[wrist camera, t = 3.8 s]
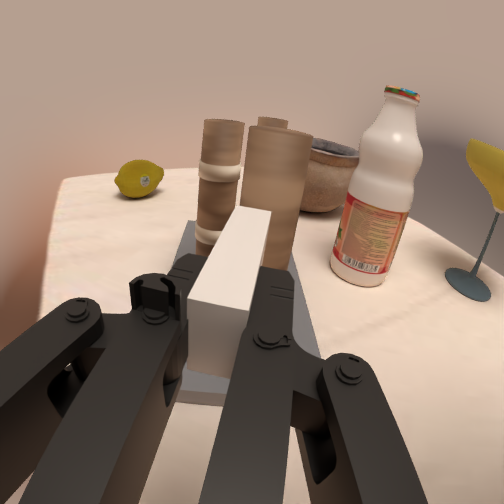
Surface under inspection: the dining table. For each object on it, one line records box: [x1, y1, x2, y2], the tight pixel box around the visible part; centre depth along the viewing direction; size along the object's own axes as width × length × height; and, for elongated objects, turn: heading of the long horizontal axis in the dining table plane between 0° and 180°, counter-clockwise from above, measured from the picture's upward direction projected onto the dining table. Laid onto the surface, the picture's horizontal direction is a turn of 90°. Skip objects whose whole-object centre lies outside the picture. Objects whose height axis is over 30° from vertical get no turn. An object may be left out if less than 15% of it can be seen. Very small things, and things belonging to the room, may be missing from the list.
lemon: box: [115, 160, 164, 198], centre depth 61 cm, size 11×8×8 cm
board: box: [171, 220, 321, 406], centre depth 37 cm, size 16×32×5 cm, turn 2°
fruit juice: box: [330, 85, 423, 287], centre depth 40 cm, size 9×9×28 cm
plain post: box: [240, 126, 313, 271], centre depth 23 cm, size 4×4×18 cm
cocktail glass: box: [445, 139, 504, 301], centre depth 41 cm, size 18×18×25 cm
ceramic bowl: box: [300, 138, 359, 212], centre depth 66 cm, size 22×22×15 cm
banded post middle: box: [195, 119, 245, 257], centre depth 33 cm, size 4×4×18 cm
